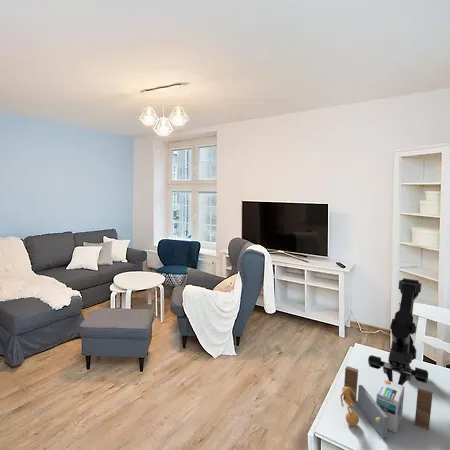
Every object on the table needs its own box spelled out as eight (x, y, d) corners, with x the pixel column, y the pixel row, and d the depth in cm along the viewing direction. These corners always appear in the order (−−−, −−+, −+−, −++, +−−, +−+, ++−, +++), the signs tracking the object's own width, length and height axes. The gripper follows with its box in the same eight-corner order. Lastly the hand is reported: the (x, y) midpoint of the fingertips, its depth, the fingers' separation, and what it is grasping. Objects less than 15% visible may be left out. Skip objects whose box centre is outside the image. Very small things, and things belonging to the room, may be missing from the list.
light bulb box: (396, 433, 102) (399, 402, 101) (373, 424, 106) (376, 393, 105) (402, 415, 110) (405, 385, 109) (381, 406, 114) (383, 378, 113)
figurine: (350, 433, 102) (352, 398, 100) (333, 422, 106) (335, 388, 105) (364, 422, 107) (366, 388, 105) (347, 412, 111) (349, 379, 110)
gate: (360, 403, 115) (362, 384, 114) (386, 437, 99) (387, 417, 99) (354, 403, 115) (355, 385, 114) (379, 438, 99) (380, 417, 98)
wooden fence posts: (344, 396, 120) (346, 365, 118) (429, 426, 105) (432, 392, 104) (343, 399, 118) (345, 368, 117) (428, 430, 103) (432, 395, 102)
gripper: (370, 334, 119) (362, 376, 111) (430, 348, 109) (426, 396, 101) (372, 345, 127) (365, 386, 119) (429, 360, 116) (425, 405, 109)
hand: (393, 393), depth 112 cm, fingers closed
